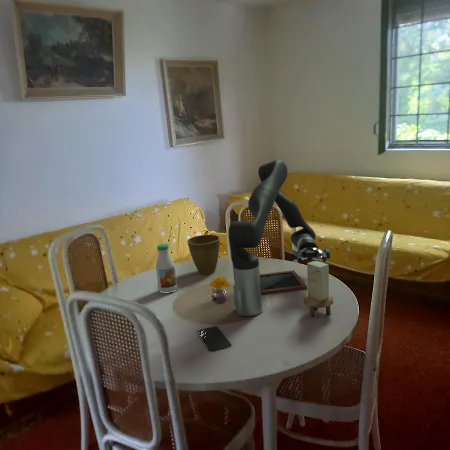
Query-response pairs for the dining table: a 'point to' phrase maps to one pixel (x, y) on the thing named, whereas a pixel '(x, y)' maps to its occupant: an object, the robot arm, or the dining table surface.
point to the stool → (318, 304)
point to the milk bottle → (165, 270)
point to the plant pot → (204, 252)
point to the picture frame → (281, 282)
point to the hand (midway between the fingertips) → (312, 260)
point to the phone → (214, 338)
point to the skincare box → (318, 280)
